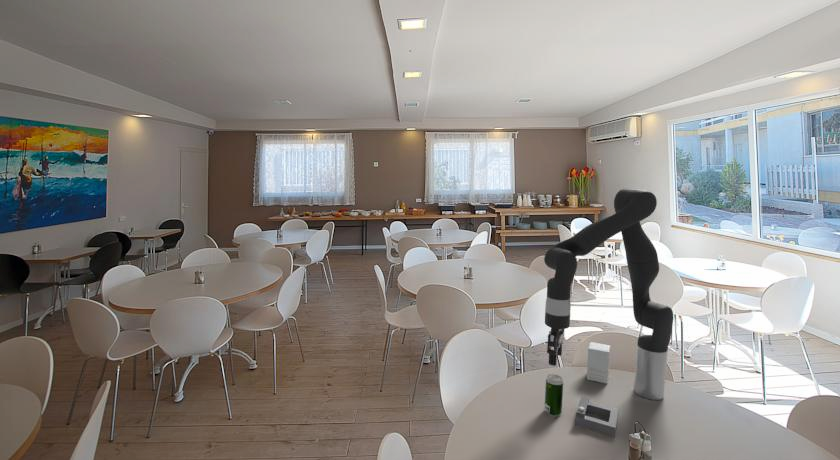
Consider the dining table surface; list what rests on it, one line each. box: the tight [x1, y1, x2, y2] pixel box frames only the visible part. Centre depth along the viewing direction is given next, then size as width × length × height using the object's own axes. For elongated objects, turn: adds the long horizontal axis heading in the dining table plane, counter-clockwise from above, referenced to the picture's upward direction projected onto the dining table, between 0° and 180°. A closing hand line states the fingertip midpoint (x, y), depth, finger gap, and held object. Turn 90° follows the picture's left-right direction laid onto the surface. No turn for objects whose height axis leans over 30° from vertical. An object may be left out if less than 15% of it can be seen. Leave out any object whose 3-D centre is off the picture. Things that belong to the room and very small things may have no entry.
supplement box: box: [586, 341, 611, 384], centre depth 150 cm, size 7×7×13 cm
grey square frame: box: [575, 395, 619, 438], centre depth 122 cm, size 11×11×5 cm
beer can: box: [543, 373, 564, 418], centre depth 126 cm, size 5×5×12 cm
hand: (555, 359), depth 125 cm, fingers open, 8 cm apart
